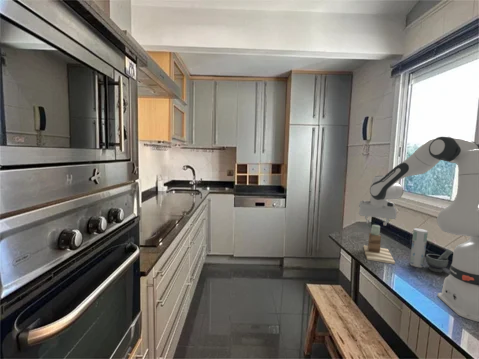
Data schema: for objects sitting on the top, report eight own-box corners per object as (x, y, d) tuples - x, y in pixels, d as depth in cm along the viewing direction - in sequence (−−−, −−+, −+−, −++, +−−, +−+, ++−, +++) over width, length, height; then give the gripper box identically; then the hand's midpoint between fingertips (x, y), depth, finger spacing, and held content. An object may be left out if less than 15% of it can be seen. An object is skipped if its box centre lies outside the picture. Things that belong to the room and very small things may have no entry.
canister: (379, 236, 158) (380, 227, 157) (371, 235, 159) (372, 226, 159) (378, 234, 162) (379, 225, 161) (370, 233, 164) (371, 224, 163)
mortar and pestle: (427, 271, 137) (430, 249, 136) (421, 264, 146) (424, 243, 145) (453, 275, 133) (456, 253, 132) (446, 268, 142) (448, 247, 141)
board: (394, 264, 145) (395, 262, 145) (366, 259, 150) (367, 257, 149) (387, 250, 165) (387, 249, 165) (363, 247, 170) (363, 245, 170)
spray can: (423, 268, 140) (428, 232, 138) (409, 265, 144) (413, 230, 142) (423, 264, 146) (427, 229, 144) (409, 261, 149) (413, 227, 147)
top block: (380, 244, 158) (381, 236, 158) (371, 243, 159) (372, 235, 158) (376, 241, 163) (377, 233, 163) (368, 240, 164) (369, 233, 163)
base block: (379, 252, 158) (380, 244, 157) (368, 251, 160) (369, 243, 159) (378, 249, 163) (379, 241, 163) (367, 247, 166) (368, 240, 165)
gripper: (359, 201, 159) (358, 223, 160) (398, 204, 152) (395, 227, 153) (359, 199, 165) (357, 221, 166) (395, 202, 158) (393, 225, 159)
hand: (376, 224), depth 160 cm, fingers open, 8 cm apart
